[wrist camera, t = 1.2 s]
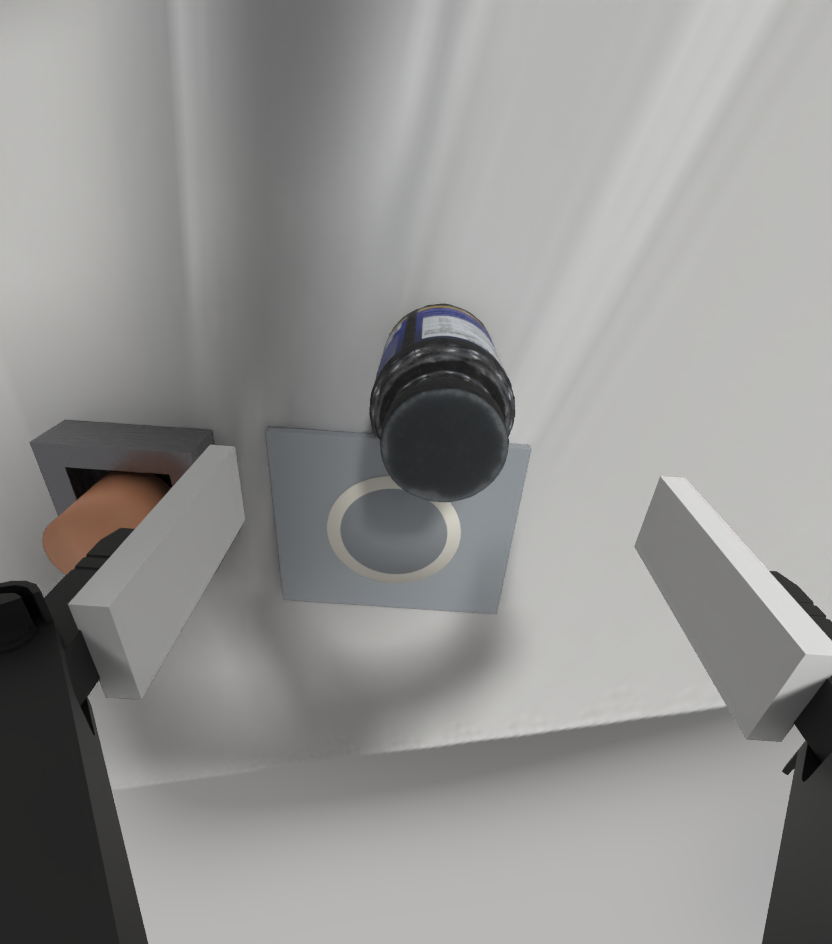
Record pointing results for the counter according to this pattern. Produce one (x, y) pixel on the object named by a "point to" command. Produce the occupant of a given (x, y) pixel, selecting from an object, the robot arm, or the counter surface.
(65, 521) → the button
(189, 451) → the button housing
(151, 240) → the counter surface
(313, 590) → the board
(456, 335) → the pill bottle
